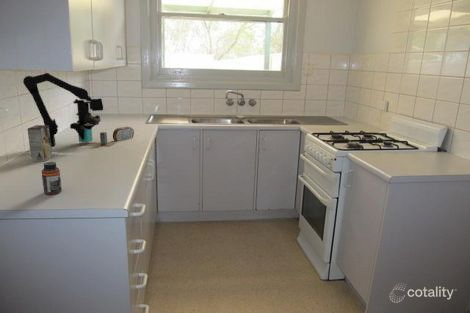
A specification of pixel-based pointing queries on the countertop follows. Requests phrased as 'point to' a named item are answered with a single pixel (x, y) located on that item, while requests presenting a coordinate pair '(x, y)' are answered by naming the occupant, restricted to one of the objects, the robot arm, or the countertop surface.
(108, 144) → the walnut board
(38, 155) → the coffee box
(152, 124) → the countertop surface
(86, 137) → the teal block
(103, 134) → the post
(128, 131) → the tin
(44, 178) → the supplement bottle
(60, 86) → the robot arm
